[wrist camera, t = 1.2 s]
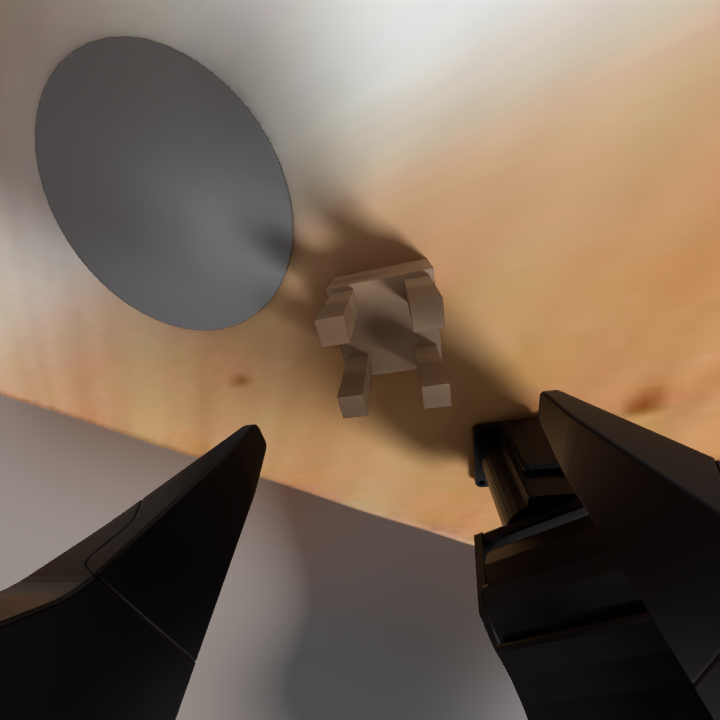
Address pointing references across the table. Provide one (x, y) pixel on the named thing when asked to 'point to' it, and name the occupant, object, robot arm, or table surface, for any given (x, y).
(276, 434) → the table surface
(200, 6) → the table surface
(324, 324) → the stool
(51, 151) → the mat
